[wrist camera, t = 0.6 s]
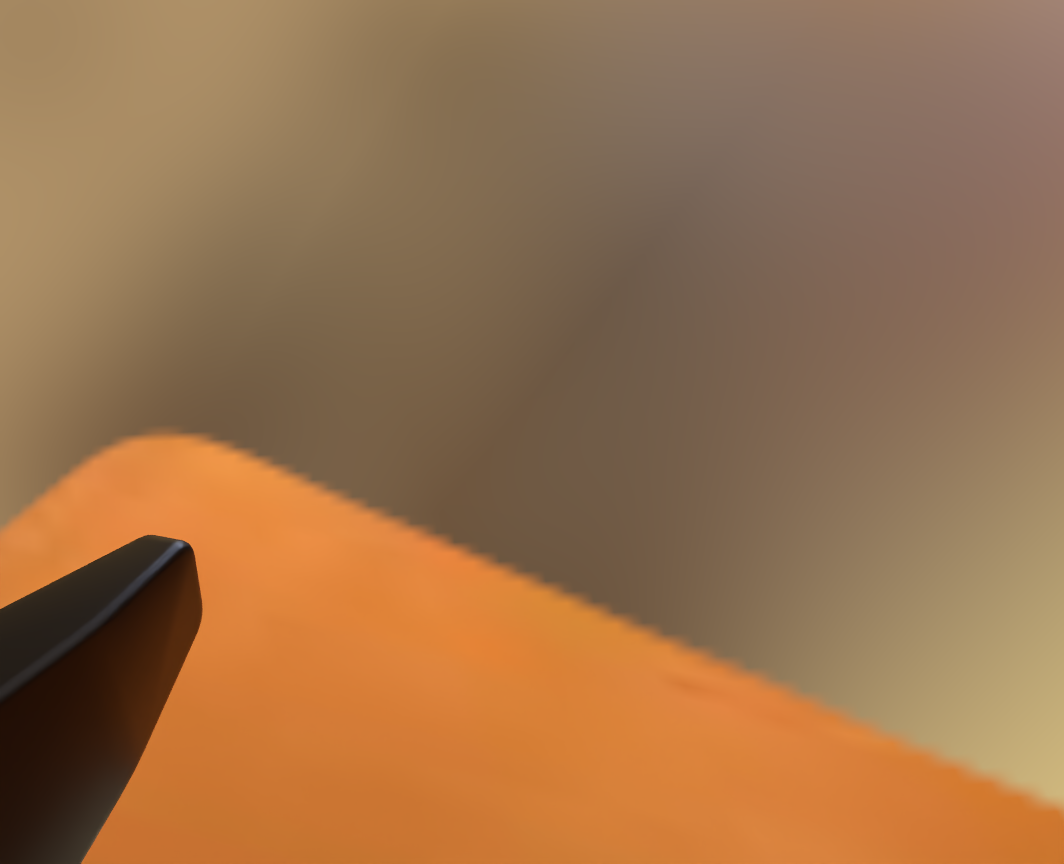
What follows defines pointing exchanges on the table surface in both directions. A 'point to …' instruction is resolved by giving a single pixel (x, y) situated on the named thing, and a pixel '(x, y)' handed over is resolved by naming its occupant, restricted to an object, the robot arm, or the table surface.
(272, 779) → the table surface
